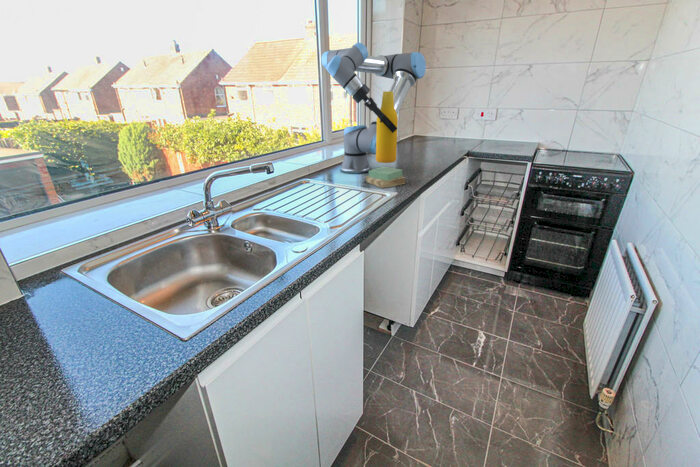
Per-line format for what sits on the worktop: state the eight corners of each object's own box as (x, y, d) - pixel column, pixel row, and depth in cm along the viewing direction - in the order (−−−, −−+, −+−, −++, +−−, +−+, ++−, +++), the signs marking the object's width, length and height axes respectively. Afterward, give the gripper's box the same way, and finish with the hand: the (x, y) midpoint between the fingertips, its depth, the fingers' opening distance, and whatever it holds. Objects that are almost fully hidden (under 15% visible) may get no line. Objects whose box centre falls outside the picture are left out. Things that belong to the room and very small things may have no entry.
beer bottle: (399, 162, 146) (402, 91, 134) (379, 163, 144) (381, 91, 132) (392, 158, 154) (394, 91, 142) (373, 159, 152) (374, 91, 140)
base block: (365, 181, 155) (365, 175, 154) (387, 178, 161) (388, 172, 160) (382, 188, 145) (382, 181, 144) (405, 183, 151) (405, 177, 150)
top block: (368, 176, 152) (368, 170, 151) (383, 172, 159) (383, 166, 158) (387, 180, 145) (387, 174, 144) (402, 176, 152) (402, 169, 151)
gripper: (352, 96, 149) (386, 132, 154) (350, 97, 129) (389, 139, 135) (364, 83, 146) (398, 120, 152) (364, 82, 126) (403, 125, 132)
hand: (394, 129), depth 143 cm, fingers closed on beer bottle, 9 cm apart
